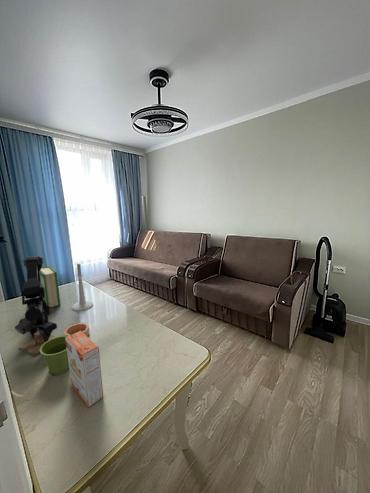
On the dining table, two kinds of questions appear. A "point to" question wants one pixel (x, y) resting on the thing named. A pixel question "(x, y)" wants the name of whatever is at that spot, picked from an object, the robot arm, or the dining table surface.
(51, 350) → the plant pot
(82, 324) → the bowl
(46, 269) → the hardback book
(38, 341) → the lid
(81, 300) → the candlestick
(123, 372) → the dining table surface
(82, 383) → the cracker box
